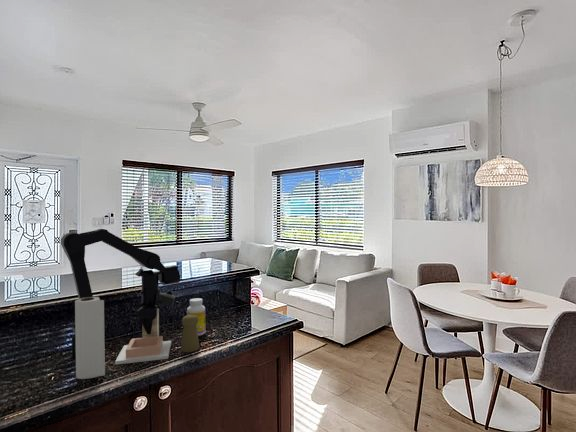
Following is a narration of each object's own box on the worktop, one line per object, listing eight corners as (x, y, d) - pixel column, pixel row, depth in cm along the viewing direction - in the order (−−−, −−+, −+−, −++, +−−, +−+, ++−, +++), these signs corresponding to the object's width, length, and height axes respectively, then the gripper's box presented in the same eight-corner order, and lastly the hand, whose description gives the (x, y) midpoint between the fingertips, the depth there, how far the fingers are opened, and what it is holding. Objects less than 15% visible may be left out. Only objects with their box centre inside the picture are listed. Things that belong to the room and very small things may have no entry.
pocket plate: (115, 364, 102) (115, 352, 102) (124, 348, 115) (124, 337, 115) (168, 358, 106) (168, 347, 106) (171, 343, 119) (171, 333, 119)
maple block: (142, 341, 121) (142, 313, 121) (144, 336, 126) (144, 309, 126) (157, 340, 122) (157, 312, 122) (159, 335, 127) (158, 308, 127)
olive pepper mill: (194, 352, 110) (194, 318, 110) (177, 351, 112) (176, 317, 112) (202, 345, 116) (202, 313, 116) (186, 344, 118) (186, 312, 117)
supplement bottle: (206, 335, 126) (206, 300, 126) (188, 338, 124) (187, 302, 124) (204, 329, 132) (203, 296, 132) (186, 332, 130) (186, 298, 130)
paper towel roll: (73, 374, 96) (72, 298, 96) (97, 367, 100) (96, 295, 100) (80, 383, 91) (79, 303, 91) (105, 375, 95) (103, 299, 95)
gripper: (171, 291, 117) (172, 336, 117) (175, 280, 135) (175, 320, 135) (136, 293, 114) (137, 339, 114) (144, 282, 132) (145, 322, 132)
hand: (150, 329), depth 124 cm, fingers open, 9 cm apart
